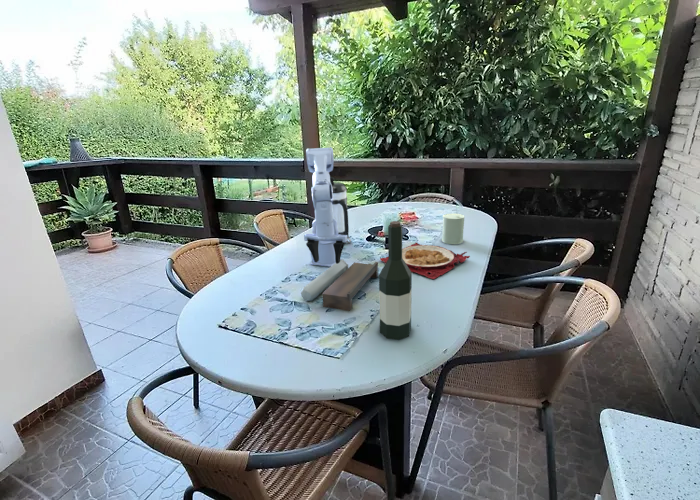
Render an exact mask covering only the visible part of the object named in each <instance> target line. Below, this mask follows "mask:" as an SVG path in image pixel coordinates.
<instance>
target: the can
mask: <svg viewBox="0 0 700 500" xmlns="http://www.w3.org/2000/svg"><path fill="white" fill-rule="evenodd" d="M465 217H466V216H465V215H464V214H461V213H455V212H454V213H453V212H452V213H445V214H443V215H442V233H441V234H442V235H441V241H442V243H443V244H446V245H461V244H463V243H464V228H465V227H464V226H465Z"/></svg>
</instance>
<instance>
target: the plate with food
mask: <svg viewBox="0 0 700 500" xmlns="http://www.w3.org/2000/svg"><path fill="white" fill-rule="evenodd" d="M467 253H468V251H464V252H461V253H455V252H454V251H452V250H450V249H448V248H446V247H443V246H440V245H433V244H432V245H431V244H429V245H428V244H420V243H418V242H414V243H411V244H410V245H409V246H406V247H403V248H402V258H403V260H404V261H405V263H406V264H407V266H408V268H409V269H410V271H411V272H412V273H416V274H418V275H420V276H425V277H426V278H428V279H431V280H435V279H437V278H439V277H440V276H443V275H445V274H446V273H447V272H450V271H451V270H453V269H454V268H455V264H459V263H460V264H462V263H463V262H466V260H467V259H470V257H471V256H470V255H466V254H467ZM388 259H389V256H385V257H382V258H381V257H380V258H379V260H380V261H381V262H383V263H384V264H386V262H387V261H388ZM429 273H430V274H429Z"/></svg>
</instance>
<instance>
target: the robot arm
mask: <svg viewBox="0 0 700 500" xmlns="http://www.w3.org/2000/svg"><path fill="white" fill-rule="evenodd" d="M305 155H306V165H307V170H308V172H309V173H312V186H311V199H312V204H313V209H314V220H313V221H312V223H311V231H312V233H305V234H304V235H303V240H304V242H306V243H305V245H306V247H307V248H308V250H309V251H310V258H311V262H310V265H313V266H320V267H328V268H330V267H331V266H332V265H334V264H335V263H336V264H338V263H339V262H340V260H341V257H342V252H343V250H344V247H345V245H346V243H347V241H348V242H349V239H347V235H340V234H338V225H337V221H336V220H335V219H334V218H333V210H332V202H333V189H332V185H331V183H330V177H331V175H330V172H333V170H334V162H335V161H334V149H333V148H332V146H330V147H316V148H314V147H313V148H309V147H308V148H306V150H305ZM330 199H331V200H332V202H331V201H330ZM335 242H336V243H335Z"/></svg>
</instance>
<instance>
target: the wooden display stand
mask: <svg viewBox="0 0 700 500" xmlns="http://www.w3.org/2000/svg"><path fill="white" fill-rule="evenodd" d="M378 263H379V262H378V261H374V263H373V264H371V263H363V262H352V264H351V265H350V266H348V269H347V270H346V271H345V272H344V273H343V274H342V275H341V276H340V277H339V278H338V279H337V280H336V281H335V282H334V283H332V284H331V285H330V286H329V287H328V288H327V289H325V290H324V291H323V292H322V293H321V294H322V295H321V296H322V307H323V308H329V309H335V310H340V311H346V312H351V311H352V310H353V298H354V297H355V296H356V295H357V294H358V293H359V291H360V290H361V289H362V288H363V286H365V284H366V283H367V282H368V280H369V279H370V278H371V279H378V278H379V264H378Z"/></svg>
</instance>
